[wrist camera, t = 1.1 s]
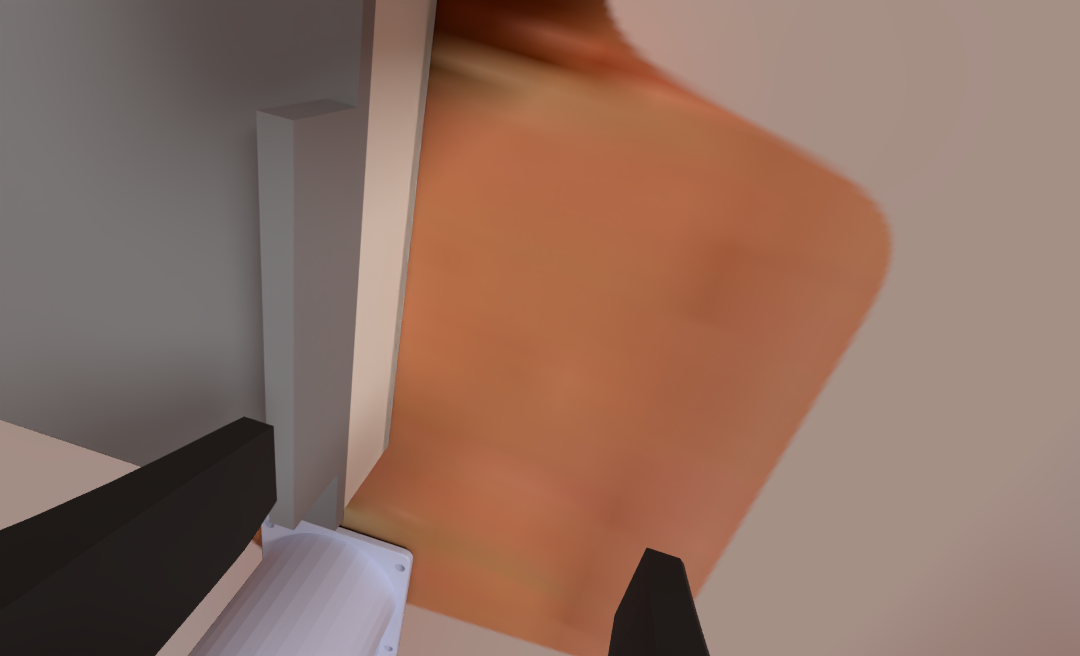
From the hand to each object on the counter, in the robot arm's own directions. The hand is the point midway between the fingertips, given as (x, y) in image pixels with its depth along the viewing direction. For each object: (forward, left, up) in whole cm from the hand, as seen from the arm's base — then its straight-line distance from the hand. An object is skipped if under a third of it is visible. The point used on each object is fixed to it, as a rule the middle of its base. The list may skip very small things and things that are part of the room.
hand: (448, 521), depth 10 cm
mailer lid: (0, +12, -6) cm, 14 cm away
